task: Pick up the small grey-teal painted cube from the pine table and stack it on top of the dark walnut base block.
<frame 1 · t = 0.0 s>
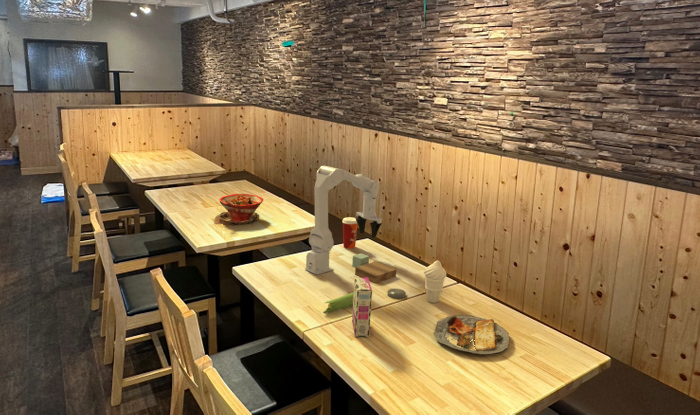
hand: (367, 234, 243), 10 cm above the table, tool pointing down, fingers open, 7 cm apart
base block: (375, 275, 223), on the table
paper cup: (349, 247, 257), on the table
cube: (360, 266, 232), on the table
stew: (239, 221, 293), on the table
soft serve ice cream cone: (432, 301, 201), on the table
grey flat round pebble: (396, 295, 204), on the table
food plate: (470, 339, 174), on the table
edible corn: (343, 308, 192), on the table
candy bar box: (360, 329, 177), on the table
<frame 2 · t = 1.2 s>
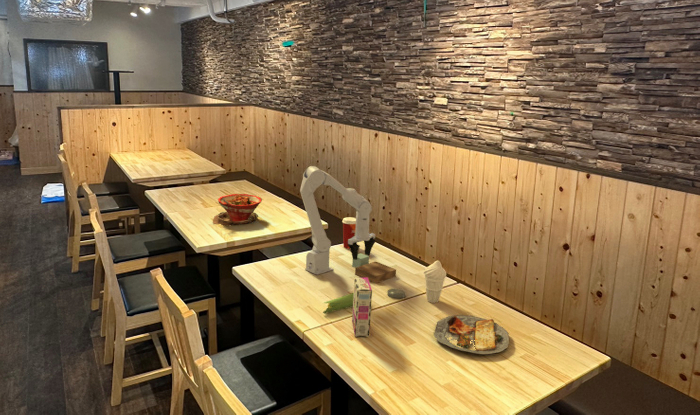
hand: (361, 256, 231), 4 cm above the table, tool pointing down, fingers open, 7 cm apart
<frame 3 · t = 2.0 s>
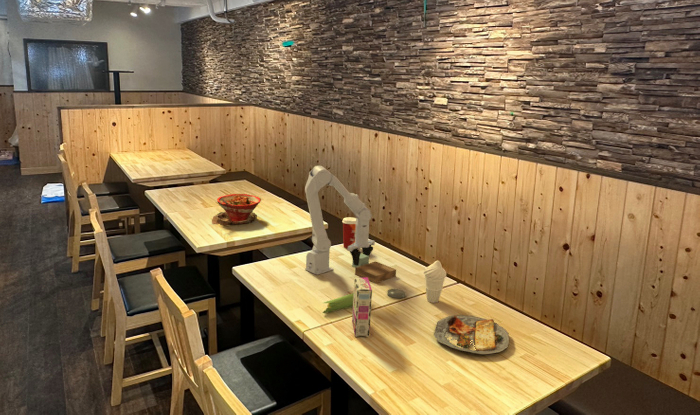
hand: (360, 263, 232), 1 cm above the table, tool pointing down, fingers closed on cube, 5 cm apart
cube: (360, 266, 232), on the table, touching gripper
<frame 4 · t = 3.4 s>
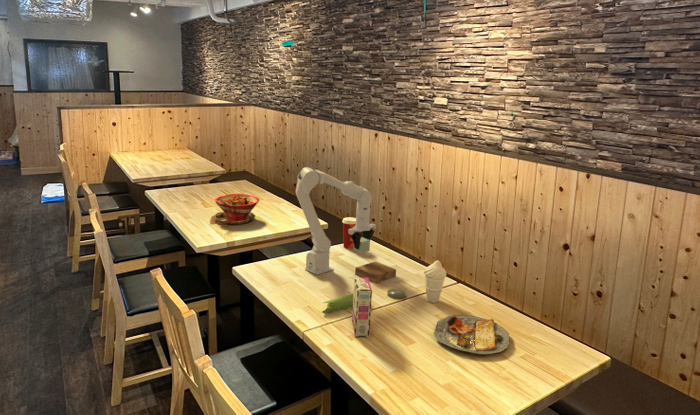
hand: (361, 247, 230), 9 cm above the table, tool pointing down, fingers closed on cube, 5 cm apart
cube: (361, 250, 230), point 7 cm above the table, touching gripper
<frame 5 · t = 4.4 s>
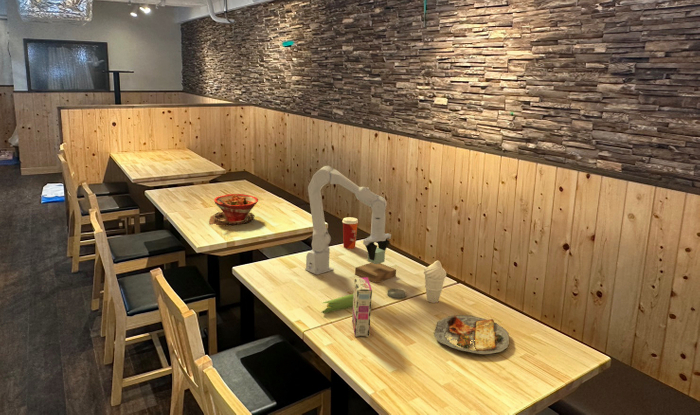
hand: (376, 258, 221), 8 cm above the table, tool pointing down, fingers closed on cube, 5 cm apart
cube: (375, 261, 221), point 6 cm above the table, touching gripper
when the fingers open (5 cm above the table, at t = 5.2 s): cube stays where it is, resting on base block.
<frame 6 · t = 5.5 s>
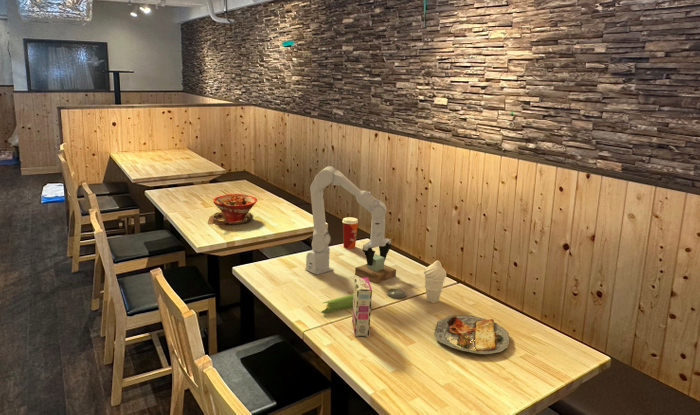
hand: (376, 263, 221), 5 cm above the table, tool pointing down, fingers open, 7 cm apart
cube: (375, 268, 222), point 3 cm above the table, touching base block
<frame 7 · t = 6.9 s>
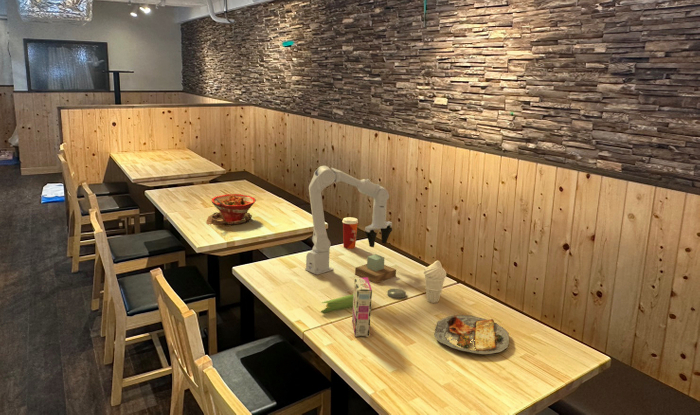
hand: (377, 244, 230), 10 cm above the table, tool pointing down, fingers open, 7 cm apart
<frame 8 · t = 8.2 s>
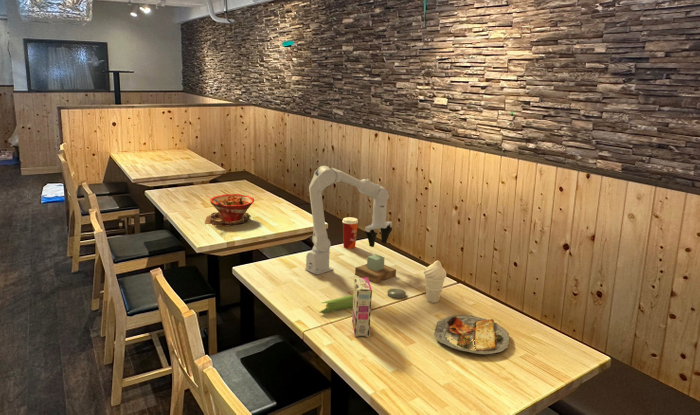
hand: (377, 244, 231), 10 cm above the table, tool pointing down, fingers open, 7 cm apart
at the end: cube inside the target area on the base block (0.2 cm from its centre), point 3.0 cm above the base block's base; cube touching base block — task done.
